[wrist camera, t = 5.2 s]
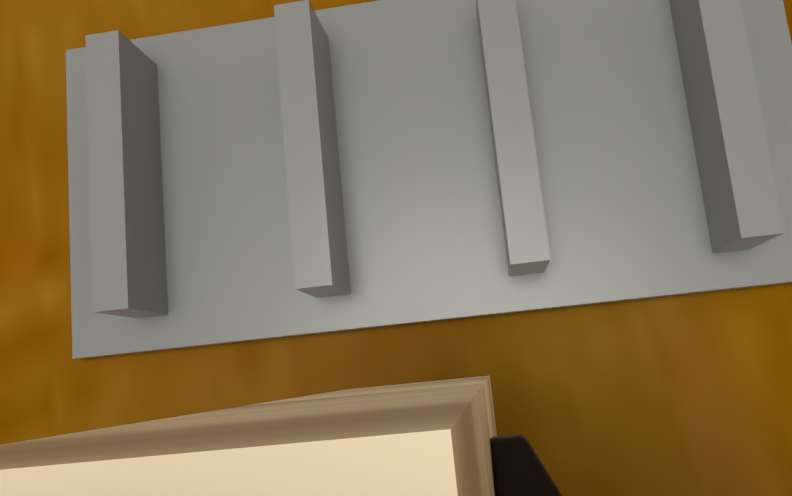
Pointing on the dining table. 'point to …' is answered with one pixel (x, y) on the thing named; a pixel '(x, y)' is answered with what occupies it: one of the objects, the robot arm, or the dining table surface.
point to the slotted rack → (423, 165)
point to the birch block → (279, 449)
